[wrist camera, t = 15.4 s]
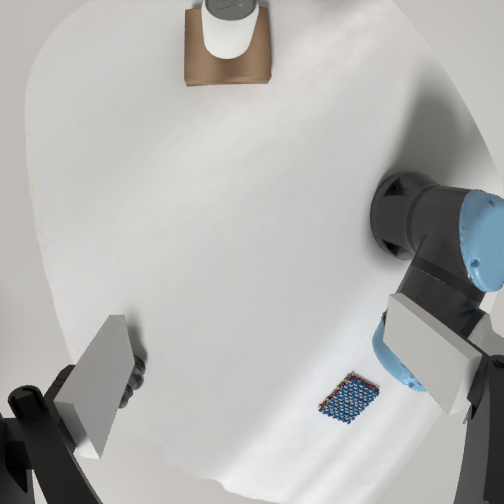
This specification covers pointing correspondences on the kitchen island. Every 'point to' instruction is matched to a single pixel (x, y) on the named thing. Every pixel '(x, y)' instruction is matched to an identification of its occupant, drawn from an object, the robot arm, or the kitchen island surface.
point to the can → (228, 26)
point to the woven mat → (349, 399)
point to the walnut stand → (226, 70)
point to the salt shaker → (133, 381)
